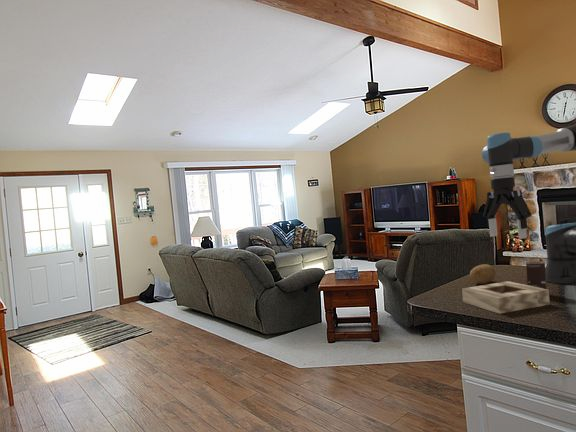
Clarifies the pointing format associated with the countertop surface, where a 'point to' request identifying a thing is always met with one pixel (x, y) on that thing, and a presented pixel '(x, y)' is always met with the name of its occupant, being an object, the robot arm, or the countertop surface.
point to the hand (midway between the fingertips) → (507, 237)
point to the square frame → (505, 297)
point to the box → (536, 274)
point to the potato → (483, 274)
